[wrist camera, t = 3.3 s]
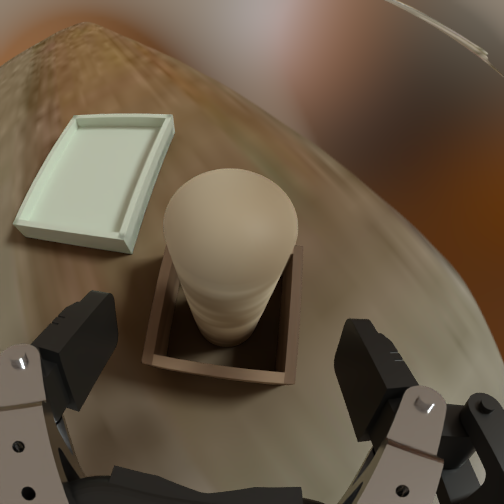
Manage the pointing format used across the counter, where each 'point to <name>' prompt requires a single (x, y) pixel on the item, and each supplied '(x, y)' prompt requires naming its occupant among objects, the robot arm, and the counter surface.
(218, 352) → the counter surface
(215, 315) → the dowel
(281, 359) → the box
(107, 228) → the tray
